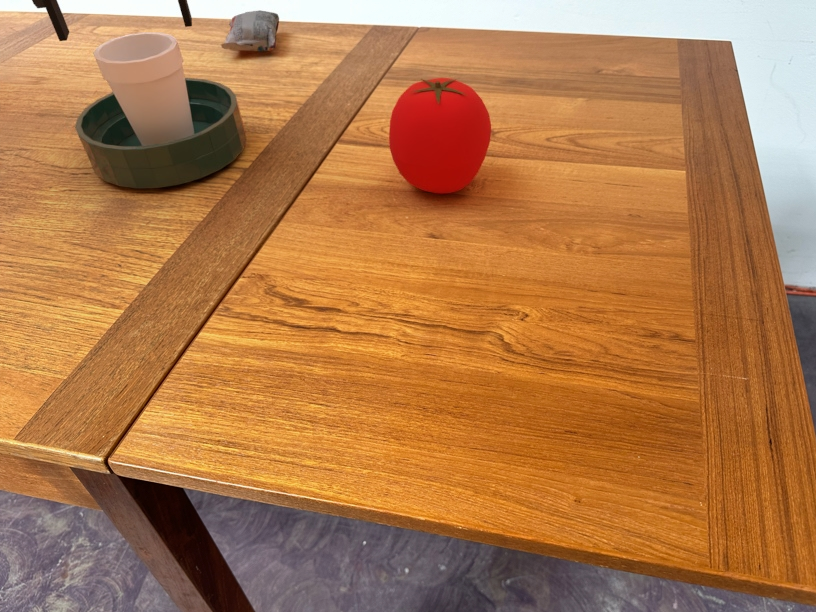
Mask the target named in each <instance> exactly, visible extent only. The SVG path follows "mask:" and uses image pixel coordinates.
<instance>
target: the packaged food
mask: <svg viewBox="0 0 816 612" xmlns="http://www.w3.org/2000/svg"><path fill="white" fill-rule="evenodd" d="M279 23H280V17H279V14H278V13H276V12H272V11H267V10H251V11H245V12H243V13H239V14H237V15H234V16H233V17H232V18H231V20H229V24H228V25H229V27H230V28H229V31H228V32H229V33H228V34H227V35H226V38H225V41H224V43H221V44H220V46H221V48H222V49H224V50H230V51H233V52H269V51H273V50H274V49H275V48H276V44H277V33H278V29H279Z"/></svg>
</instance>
